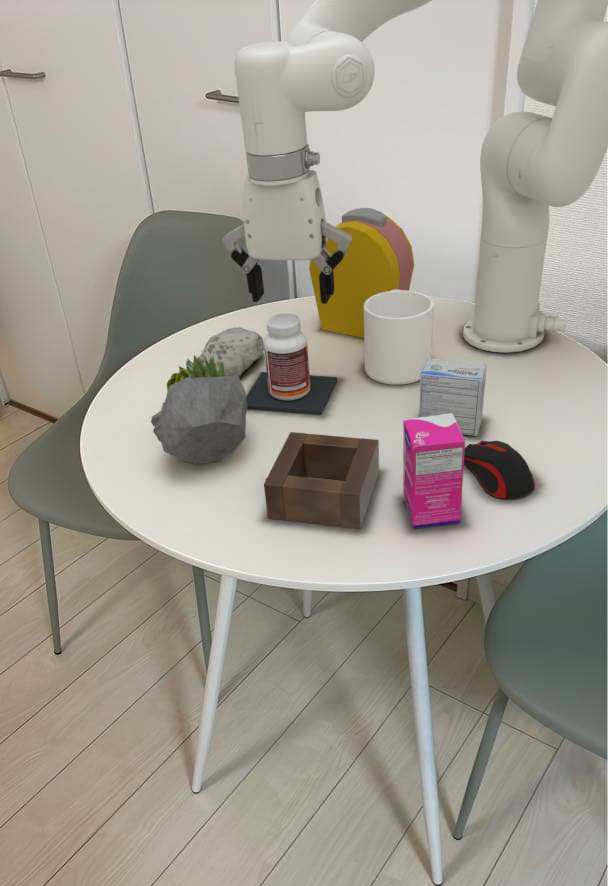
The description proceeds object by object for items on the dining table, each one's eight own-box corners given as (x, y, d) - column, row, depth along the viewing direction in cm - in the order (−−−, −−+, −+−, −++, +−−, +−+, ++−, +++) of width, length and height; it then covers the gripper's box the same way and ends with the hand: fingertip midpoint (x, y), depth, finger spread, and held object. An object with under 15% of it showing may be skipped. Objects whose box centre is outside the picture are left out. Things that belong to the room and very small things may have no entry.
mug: (434, 383, 111) (437, 317, 104) (366, 386, 111) (364, 321, 105) (425, 345, 120) (428, 281, 113) (363, 348, 121) (361, 285, 114)
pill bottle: (319, 392, 110) (314, 321, 103) (283, 406, 107) (276, 334, 100) (296, 377, 114) (290, 307, 107) (261, 390, 111) (252, 319, 104)
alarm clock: (414, 323, 126) (417, 209, 114) (392, 343, 121) (393, 226, 109) (336, 309, 133) (332, 199, 121) (313, 327, 128) (305, 215, 116)
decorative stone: (202, 349, 124) (197, 321, 121) (267, 347, 123) (264, 318, 120) (189, 386, 115) (184, 356, 112) (259, 384, 114) (256, 354, 111)
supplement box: (401, 499, 90) (402, 417, 83) (449, 494, 90) (455, 411, 83) (410, 530, 86) (412, 445, 78) (461, 524, 86) (469, 439, 78)
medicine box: (482, 420, 102) (488, 362, 96) (477, 438, 99) (482, 379, 93) (424, 414, 104) (427, 356, 99) (417, 430, 101) (419, 372, 96)
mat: (337, 380, 113) (337, 377, 113) (321, 415, 106) (321, 411, 106) (262, 375, 116) (261, 371, 116) (241, 408, 109) (240, 404, 109)
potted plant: (143, 464, 94) (124, 382, 102) (224, 489, 102) (201, 412, 110) (198, 399, 87) (173, 317, 95) (279, 431, 96) (250, 354, 104)
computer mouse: (496, 445, 97) (499, 418, 95) (544, 491, 89) (549, 463, 87) (452, 457, 96) (454, 430, 93) (497, 505, 88) (501, 477, 85)
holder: (378, 473, 95) (378, 439, 91) (360, 529, 86) (359, 494, 83) (293, 464, 97) (290, 431, 94) (267, 518, 89) (263, 484, 86)
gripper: (353, 153, 92) (359, 288, 103) (222, 156, 97) (241, 286, 108) (340, 171, 87) (348, 312, 98) (201, 174, 91) (223, 309, 102)
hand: (292, 298), depth 103 cm, fingers open, 9 cm apart
